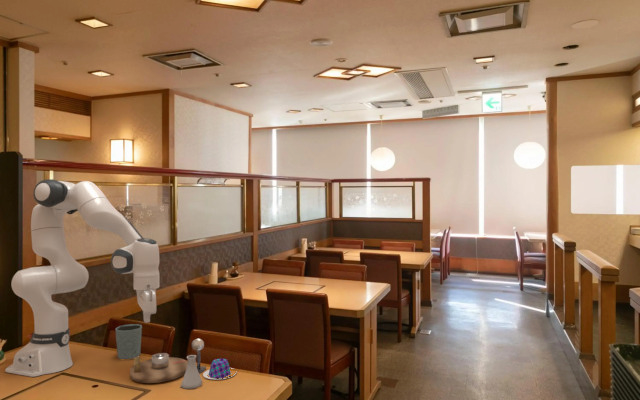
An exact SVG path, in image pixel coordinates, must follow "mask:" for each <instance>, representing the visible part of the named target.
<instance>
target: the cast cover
mask: <svg viewBox="0 0 640 400" xmlns="http://www.w3.org/2000/svg"><path fill="white" fill-rule="evenodd" d="M169 357H170V354H168V353H167V352H158V353H154V354H152V355H151V359H152V362H151V368H152V369H154V370H160V369H165V368H167V367H168V366H169Z"/></svg>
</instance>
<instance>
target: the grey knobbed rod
mask: <svg viewBox="0 0 640 400" xmlns="http://www.w3.org/2000/svg"><path fill="white" fill-rule="evenodd" d="M204 346H205V342H204V340H203V339H201V338H199V337H198V338H196V339H194V340H192V342H191V348H192V350H193V351H195V352H196V366H197V369H198V372H199V374H203V373H204V372H205V371H206V369H207V366H204V365H201V350H203V348H204Z"/></svg>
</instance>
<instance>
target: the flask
mask: <svg viewBox="0 0 640 400" xmlns="http://www.w3.org/2000/svg"><path fill="white" fill-rule="evenodd" d="M186 359H187V362H188V364H187V369H186V372H185V374H184V375H183V379H182V380H181V384H180V388H182V389H184V390H185V389H186V390H189V389H190V390H192V389H197V388H199V387H201V386H202V384H203V379H202V377H201V375H200V373H199V372H198V369H197V354H196V355H195V354H189V355H187V356H186Z"/></svg>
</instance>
